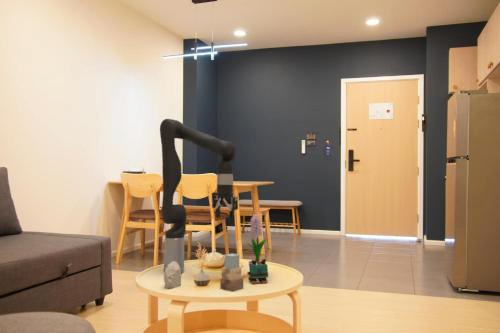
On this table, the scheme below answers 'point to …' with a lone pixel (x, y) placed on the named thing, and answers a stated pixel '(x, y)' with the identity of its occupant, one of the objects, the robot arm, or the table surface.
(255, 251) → the hyacinth
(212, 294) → the table surface
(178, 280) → the stone
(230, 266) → the slate block
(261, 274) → the green toy vehicle
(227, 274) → the beech block
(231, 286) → the walnut base
